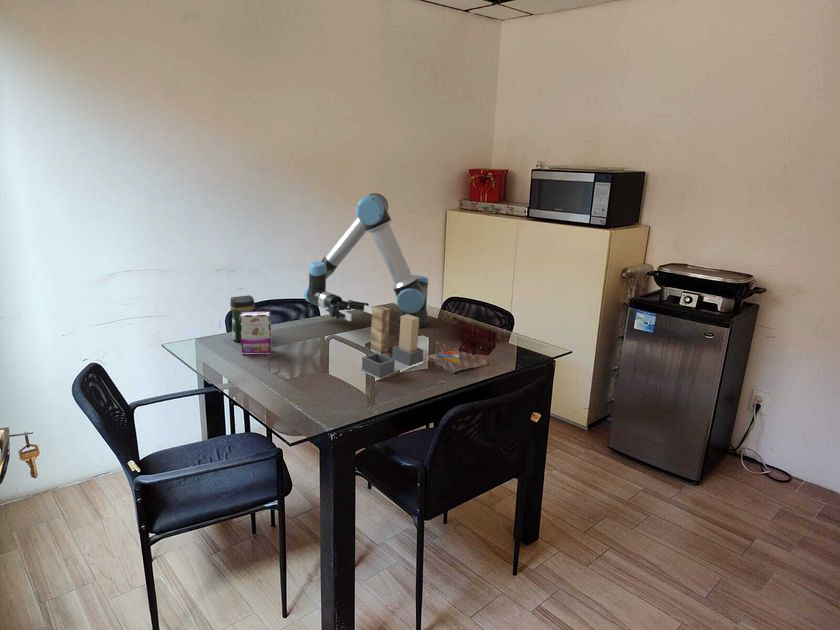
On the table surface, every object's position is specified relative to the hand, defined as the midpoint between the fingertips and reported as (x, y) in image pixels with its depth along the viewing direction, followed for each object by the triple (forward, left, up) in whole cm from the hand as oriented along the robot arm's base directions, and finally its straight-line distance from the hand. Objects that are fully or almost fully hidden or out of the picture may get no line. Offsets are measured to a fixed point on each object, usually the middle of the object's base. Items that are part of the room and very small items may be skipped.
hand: (363, 315), depth 232 cm
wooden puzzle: (-16, +40, -13) cm, 44 cm away
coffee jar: (+36, -34, -13) cm, 51 cm away
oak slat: (0, +10, -12) cm, 16 cm away
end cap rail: (+9, +27, -12) cm, 31 cm away
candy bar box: (+40, -18, -13) cm, 45 cm away
